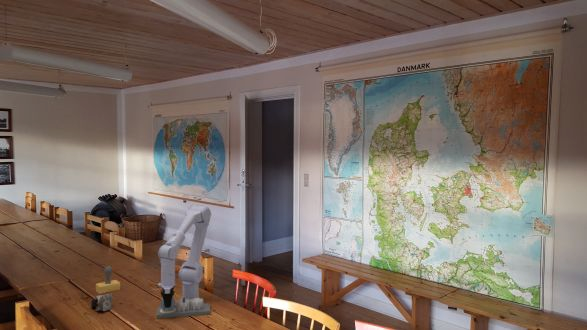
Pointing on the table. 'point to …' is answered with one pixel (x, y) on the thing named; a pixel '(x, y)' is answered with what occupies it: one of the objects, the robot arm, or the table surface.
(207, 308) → the gear board
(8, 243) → the table surface
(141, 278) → the table surface
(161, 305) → the slate gear
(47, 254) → the table surface
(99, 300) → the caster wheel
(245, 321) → the table surface
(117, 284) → the rubber stamp
